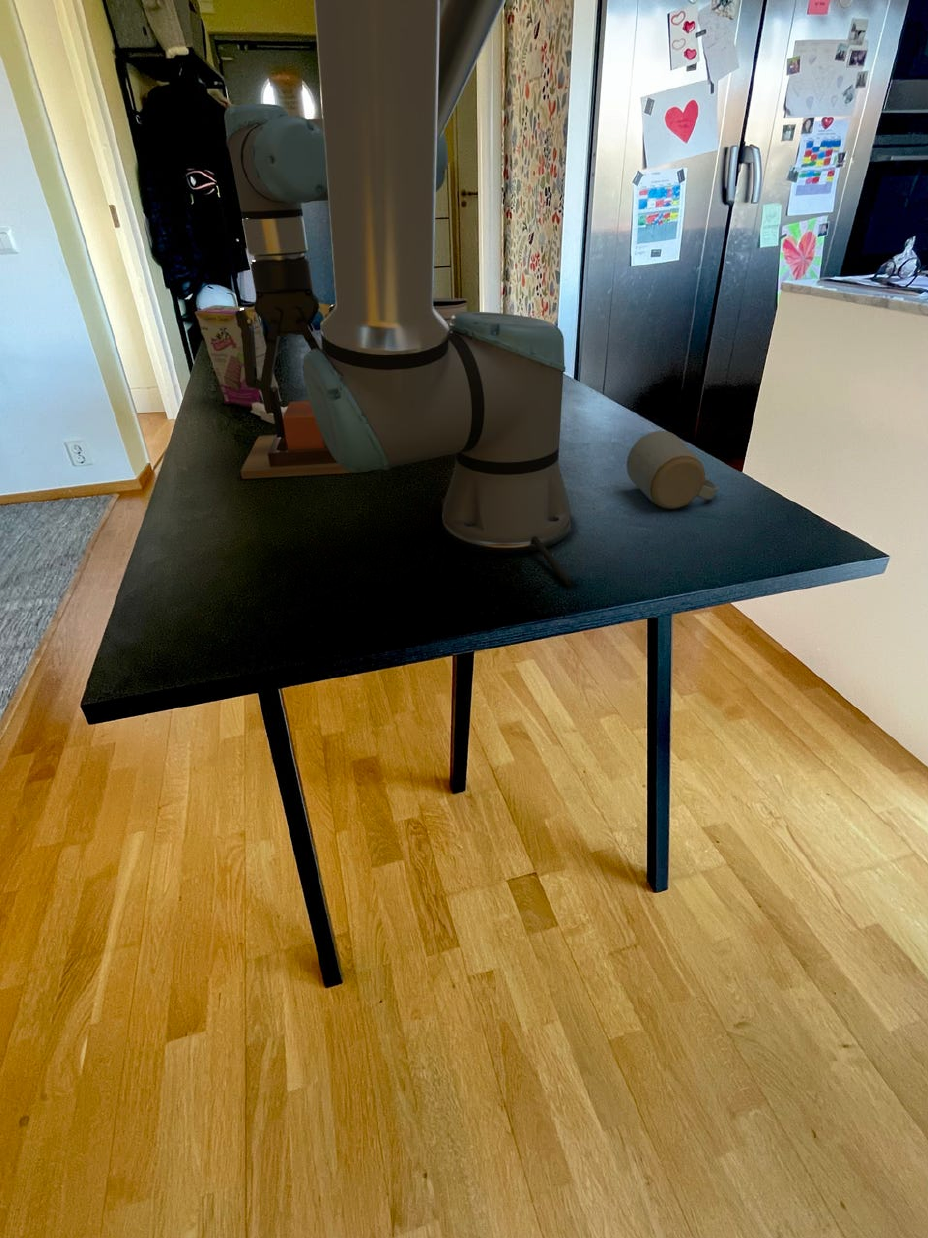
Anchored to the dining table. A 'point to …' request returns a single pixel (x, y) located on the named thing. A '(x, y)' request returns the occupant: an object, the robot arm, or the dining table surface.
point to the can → (449, 307)
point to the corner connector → (260, 411)
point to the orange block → (302, 427)
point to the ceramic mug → (668, 471)
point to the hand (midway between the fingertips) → (307, 432)
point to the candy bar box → (232, 353)
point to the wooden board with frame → (287, 460)
